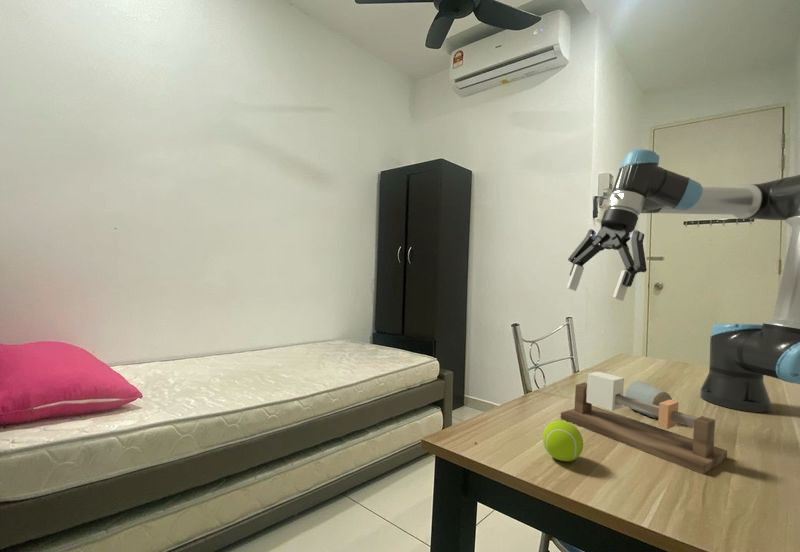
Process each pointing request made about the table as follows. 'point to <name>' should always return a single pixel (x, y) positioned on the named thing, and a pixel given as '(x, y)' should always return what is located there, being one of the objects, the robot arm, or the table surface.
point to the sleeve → (604, 390)
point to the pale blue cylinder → (646, 395)
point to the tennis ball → (563, 440)
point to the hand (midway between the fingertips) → (592, 293)
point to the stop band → (667, 414)
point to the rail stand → (650, 432)
